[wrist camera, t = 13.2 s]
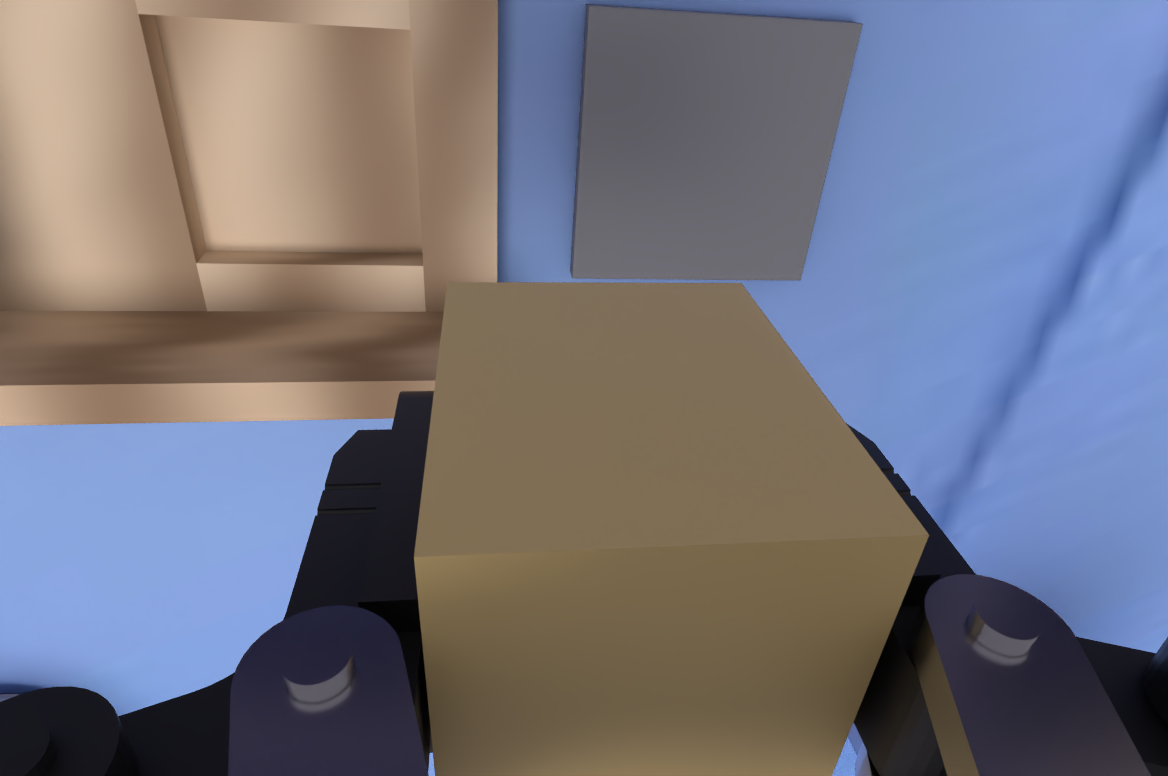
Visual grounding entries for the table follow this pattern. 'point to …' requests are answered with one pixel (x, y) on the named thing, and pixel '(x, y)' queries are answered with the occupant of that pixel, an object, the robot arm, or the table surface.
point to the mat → (704, 142)
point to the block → (645, 539)
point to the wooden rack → (238, 203)
